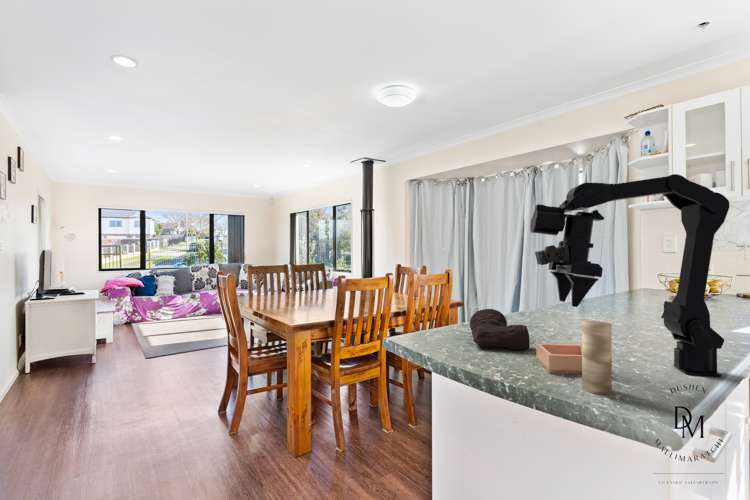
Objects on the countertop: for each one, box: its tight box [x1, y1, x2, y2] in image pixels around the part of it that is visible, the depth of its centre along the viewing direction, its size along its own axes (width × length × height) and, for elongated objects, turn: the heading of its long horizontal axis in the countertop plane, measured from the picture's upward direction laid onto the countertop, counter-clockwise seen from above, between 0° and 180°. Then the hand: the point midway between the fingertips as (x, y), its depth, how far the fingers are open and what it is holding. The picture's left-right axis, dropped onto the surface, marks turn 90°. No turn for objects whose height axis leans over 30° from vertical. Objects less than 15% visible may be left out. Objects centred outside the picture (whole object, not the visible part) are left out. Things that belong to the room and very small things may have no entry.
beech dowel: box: [581, 320, 613, 396], centre depth 75 cm, size 5×5×13 cm
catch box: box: [535, 343, 582, 375], centre depth 90 cm, size 11×11×4 cm
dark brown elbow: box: [469, 308, 531, 351], centre depth 111 cm, size 10×15×15 cm
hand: (568, 303), depth 90 cm, fingers open, 9 cm apart
